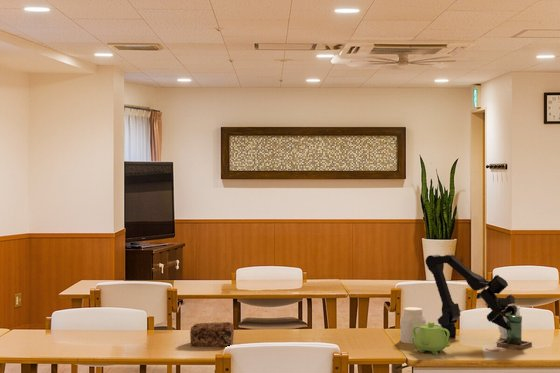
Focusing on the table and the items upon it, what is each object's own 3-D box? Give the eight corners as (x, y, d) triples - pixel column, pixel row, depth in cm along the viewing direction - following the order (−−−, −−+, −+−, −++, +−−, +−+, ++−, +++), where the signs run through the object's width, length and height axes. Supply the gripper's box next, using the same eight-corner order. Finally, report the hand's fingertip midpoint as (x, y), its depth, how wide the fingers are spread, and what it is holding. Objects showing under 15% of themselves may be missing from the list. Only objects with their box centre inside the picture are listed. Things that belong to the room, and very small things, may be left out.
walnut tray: (496, 347, 358) (496, 342, 358) (508, 343, 366) (508, 338, 366) (519, 351, 350) (520, 346, 350) (531, 347, 358) (531, 342, 358)
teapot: (453, 355, 342) (454, 326, 341) (421, 356, 340) (421, 326, 340) (441, 347, 358) (441, 319, 357) (410, 348, 356) (410, 319, 356)
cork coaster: (487, 352, 347) (487, 351, 347) (482, 348, 356) (482, 347, 356) (508, 352, 347) (508, 351, 347) (503, 348, 356) (503, 347, 356)
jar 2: (521, 340, 372) (521, 308, 372) (498, 339, 374) (498, 307, 374) (519, 336, 382) (519, 304, 382) (496, 335, 384) (496, 303, 384)
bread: (234, 342, 368) (234, 320, 368) (231, 347, 357) (231, 325, 357) (193, 342, 369) (193, 320, 369) (189, 347, 358) (189, 324, 358)
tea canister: (512, 346, 354) (512, 318, 354) (502, 343, 360) (503, 315, 360) (524, 345, 356) (525, 317, 356) (515, 342, 363) (515, 314, 362)
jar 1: (403, 343, 365) (403, 310, 365) (398, 339, 375) (398, 307, 375) (428, 343, 366) (428, 310, 366) (422, 338, 376) (422, 306, 376)
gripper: (493, 291, 355) (516, 319, 347) (513, 287, 368) (536, 314, 361) (477, 307, 360) (499, 335, 353) (497, 302, 374) (519, 329, 366)
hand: (514, 328), depth 358 cm, fingers open, 9 cm apart
